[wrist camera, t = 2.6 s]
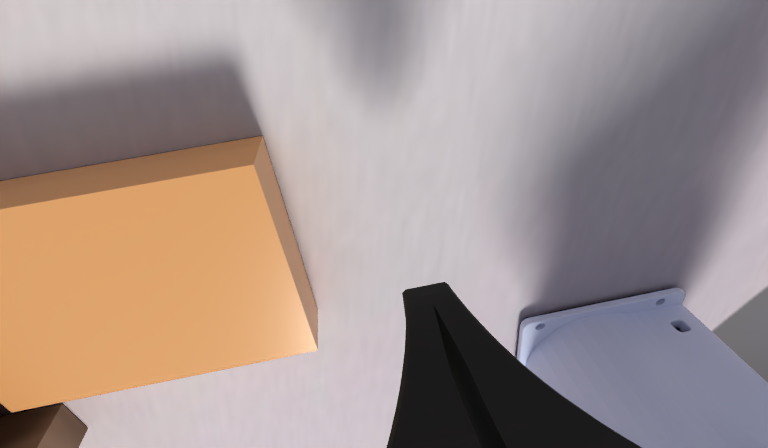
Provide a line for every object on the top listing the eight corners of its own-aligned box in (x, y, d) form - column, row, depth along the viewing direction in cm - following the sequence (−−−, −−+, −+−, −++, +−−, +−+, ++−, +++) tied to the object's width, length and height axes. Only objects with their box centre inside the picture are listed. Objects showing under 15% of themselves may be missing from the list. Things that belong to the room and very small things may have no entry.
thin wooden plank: (262, 135, 14) (253, 164, 12) (317, 309, 19) (317, 350, 17) (-114, 200, 13) (-193, 243, 11) (45, 362, 18) (11, 412, 16)
